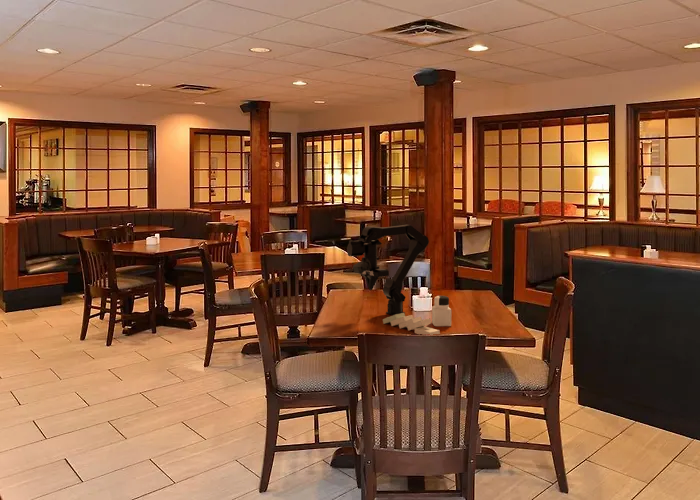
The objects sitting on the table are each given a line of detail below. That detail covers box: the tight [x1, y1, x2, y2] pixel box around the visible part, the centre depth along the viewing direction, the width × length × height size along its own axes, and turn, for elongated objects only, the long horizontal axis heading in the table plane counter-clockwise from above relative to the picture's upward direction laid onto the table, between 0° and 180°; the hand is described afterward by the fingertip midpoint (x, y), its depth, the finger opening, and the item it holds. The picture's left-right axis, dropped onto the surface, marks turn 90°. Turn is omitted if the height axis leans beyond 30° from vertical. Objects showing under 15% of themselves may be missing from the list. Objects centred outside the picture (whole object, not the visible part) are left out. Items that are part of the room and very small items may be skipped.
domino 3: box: [406, 317, 432, 331], centre depth 250 cm, size 2×5×9 cm
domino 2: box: [398, 316, 423, 330], centre depth 254 cm, size 2×5×9 cm
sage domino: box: [382, 312, 406, 325], centre depth 262 cm, size 2×5×9 cm
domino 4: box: [414, 326, 441, 335], centre depth 247 cm, size 2×5×9 cm
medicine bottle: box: [431, 295, 452, 327], centre depth 262 cm, size 7×7×12 cm
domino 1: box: [390, 314, 414, 327], centre depth 258 cm, size 2×5×9 cm
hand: (370, 289), depth 276 cm, fingers closed
